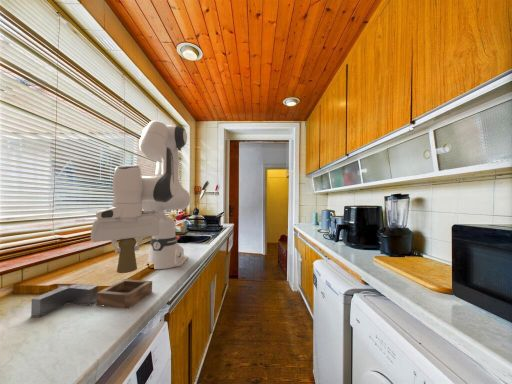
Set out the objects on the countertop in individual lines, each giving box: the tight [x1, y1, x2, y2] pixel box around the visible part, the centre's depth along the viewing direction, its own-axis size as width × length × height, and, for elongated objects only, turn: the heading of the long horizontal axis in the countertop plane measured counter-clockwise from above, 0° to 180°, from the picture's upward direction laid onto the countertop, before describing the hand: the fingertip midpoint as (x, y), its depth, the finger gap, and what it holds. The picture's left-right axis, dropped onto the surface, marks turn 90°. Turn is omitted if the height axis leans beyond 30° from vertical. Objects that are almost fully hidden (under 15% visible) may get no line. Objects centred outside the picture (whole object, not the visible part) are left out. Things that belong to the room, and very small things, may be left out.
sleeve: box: [95, 278, 153, 309], centre depth 73 cm, size 12×12×4 cm
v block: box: [30, 283, 99, 318], centre depth 68 cm, size 8×16×5 cm, turn 126°
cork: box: [116, 238, 138, 274], centre depth 74 cm, size 6×6×11 cm
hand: (127, 251), depth 74 cm, fingers closed on cork, 4 cm apart
